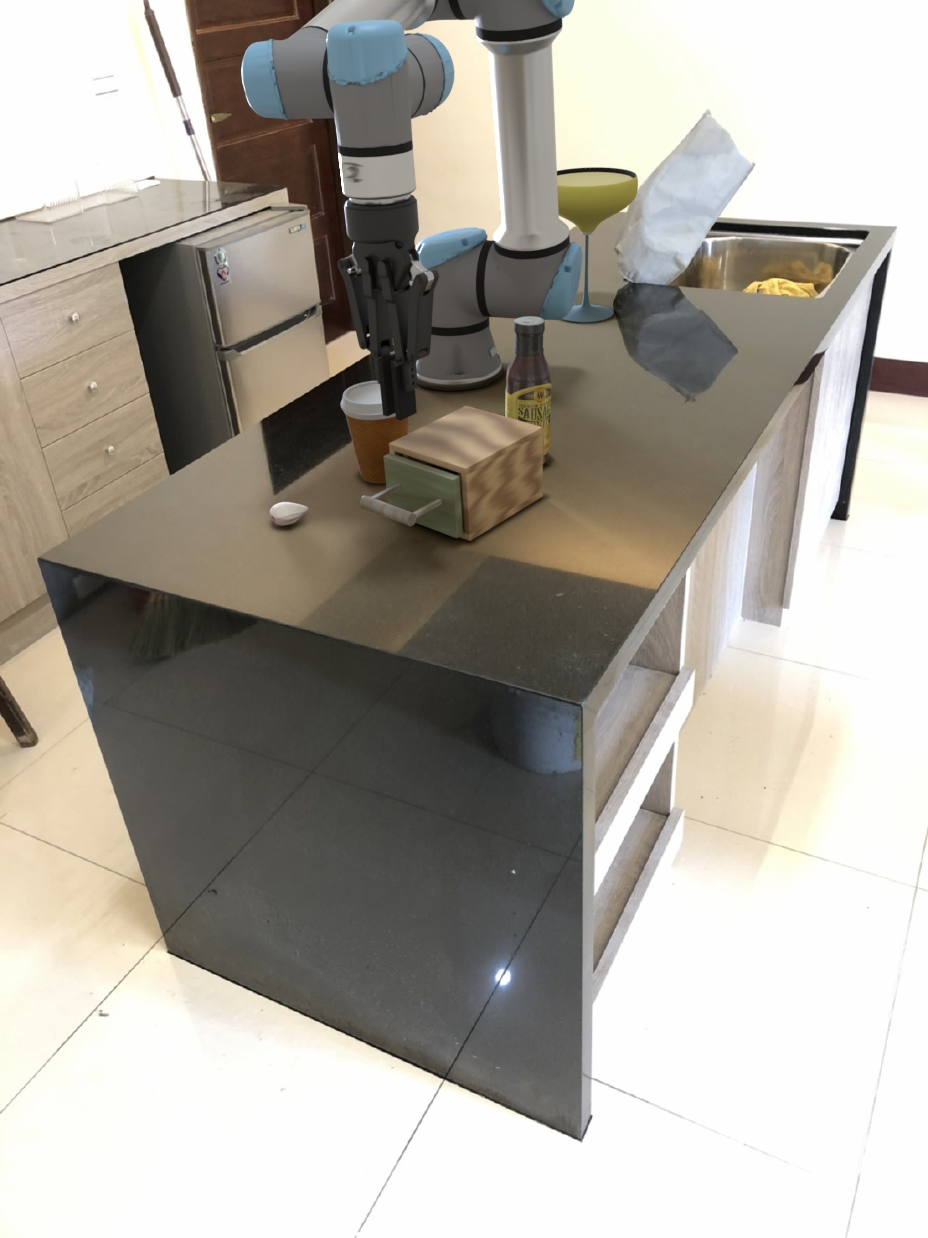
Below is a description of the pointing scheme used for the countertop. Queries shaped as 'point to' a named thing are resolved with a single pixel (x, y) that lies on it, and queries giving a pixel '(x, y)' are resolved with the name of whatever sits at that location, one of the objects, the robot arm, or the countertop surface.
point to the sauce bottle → (529, 379)
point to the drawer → (420, 495)
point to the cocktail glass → (593, 216)
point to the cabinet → (482, 462)
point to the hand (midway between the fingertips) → (399, 413)
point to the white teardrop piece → (287, 513)
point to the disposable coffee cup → (370, 428)
